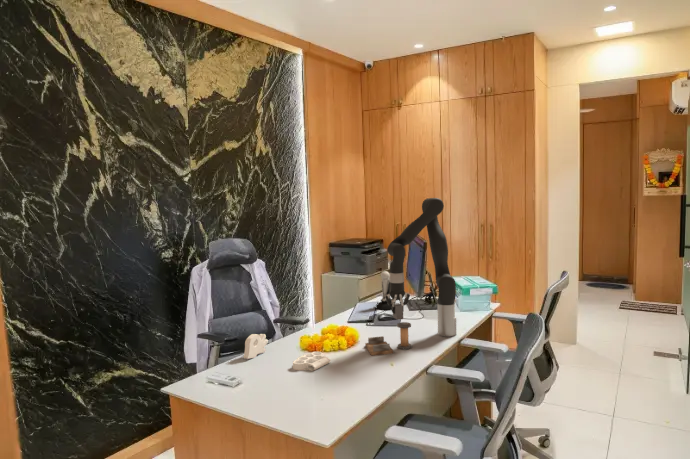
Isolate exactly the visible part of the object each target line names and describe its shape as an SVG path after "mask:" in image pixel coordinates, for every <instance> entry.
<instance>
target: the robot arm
mask: <svg viewBox="0 0 690 459" xmlns="http://www.w3.org/2000/svg"><path fill="white" fill-rule="evenodd" d="M444 207H445V206H444V202H443V200H442V199H441V198H438V197H430V198H426V199H424V200H423V201H422V203H421V211H422V213H421V214H420V215H419V216H418V217H417V218H416V219H415V220H413V221H412V222H411V223H409V224H408V226H407V227H406V228H404V230H403V231H402V232H401V233H400V235H398V236H397V237H396V238H394V239H392V241H391V242H390V243H389V244H388V246H387V249H386V251H387V252H386V253H387V254H388V255H389V256H392V261H390V264H389V274H390V292H389V294H388V295H385V299H386V301H387V303H388V305H389V306H392V310H391V314H392V315H393V314H395V303H397V301H398V302H399V303H400V304H401V305H403V312H404V306H406V305H408V302H409V299H410V297H411V294H410V293H407V292H405V275H404V264H405V257H406V248H405V246H408V245H411V243H412V242H413V241H414V240H415V239H416V238H417V236H418V235H419V234H420V233H421V232H422V231H423V230H424V228H425V227H426V231H427V236H428V241H429V248H430V253H431V257H432V261H433V265H434V272H435V283H436V286H437V288H438V297H437V299H436V300H437V301H436V302H437V306H436V307H437V335H438V336H440V337H454V336H457V317H456V315H455V314H456V312H455V310H456V309H455V307H456V304H455V302H456V298H457V297H456V295H457V294H456V290H457V289H456V288H457V287H456V280H455V278H454V277H453V276H451V272H450V268H449V263H448V261H449V260H448V259H449V246H448V240H447V237H446V233H445V232H444V230H443V228H442V226H441V225H440V223H439V217H438V216H439V215H440V214H441V213H442V212H443V210H444ZM389 296H390V297H389ZM389 298H391V299H392V303H390V301H389ZM403 298H404V299H403Z"/></svg>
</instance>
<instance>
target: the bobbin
mask: <svg viewBox="0 0 690 459" xmlns="http://www.w3.org/2000/svg"><path fill="white" fill-rule="evenodd" d="M396 326H397V328H399V331H400V332H399V333H400V334H399V336H400V337H399V339H400V343H398V344H397V349H399V350H402V351H403V350H410V349H412V346H413V345H412V344H411V343H409V342H410V341H409V328H411V327H412V323H411V322H407V321H401V322H397V324H396Z"/></svg>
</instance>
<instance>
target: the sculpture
mask: <svg viewBox="0 0 690 459" xmlns="http://www.w3.org/2000/svg"><path fill="white" fill-rule="evenodd" d="M380 278H381V292H382V298H381V299H380V301H379V302H378V303H377V304H378V305H377V304H376V305H377V308H375V309H376V310H379V311H392V306H389V305H388V303H387V301H386V299H385V295H388V294H389V292H390V271H386V270H384V271H381V273H380ZM389 297H390V298H389V301H390V303H392V298H391V296H389Z"/></svg>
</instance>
